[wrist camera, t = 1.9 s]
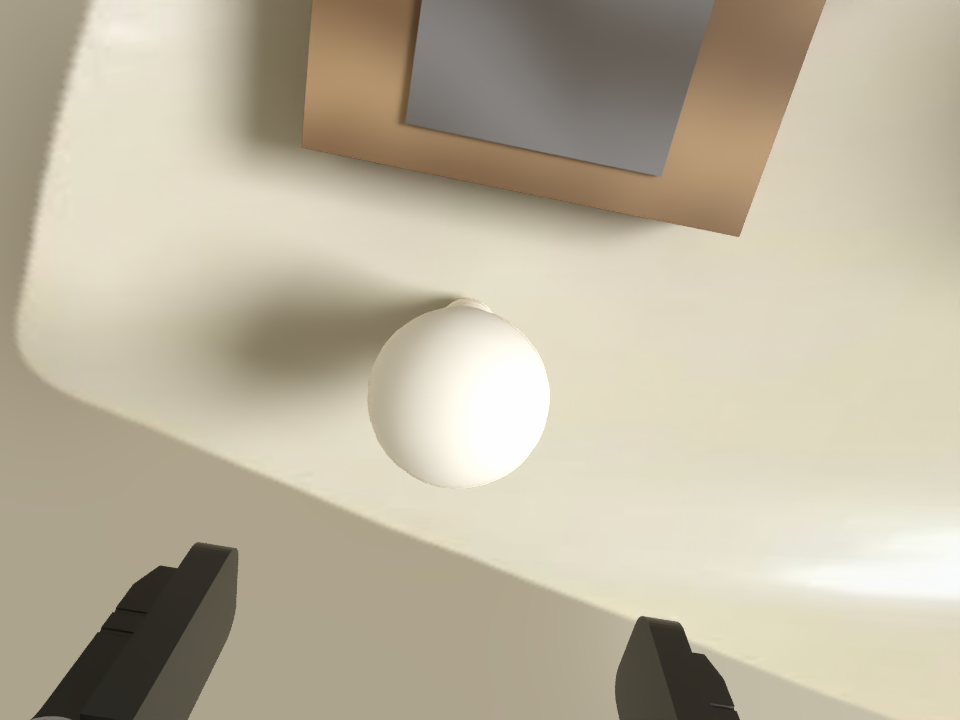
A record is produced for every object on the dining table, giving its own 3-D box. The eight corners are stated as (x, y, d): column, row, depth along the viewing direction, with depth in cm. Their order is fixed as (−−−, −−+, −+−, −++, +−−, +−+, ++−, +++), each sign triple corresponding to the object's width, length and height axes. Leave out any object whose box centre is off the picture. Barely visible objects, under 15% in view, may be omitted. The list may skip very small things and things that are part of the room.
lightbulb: (416, 386, 29) (375, 538, 19) (388, 264, 27) (325, 364, 17) (542, 369, 29) (568, 515, 19) (525, 243, 26) (544, 332, 16)
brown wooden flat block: (363, -236, 20) (332, -316, 16) (820, -126, 21) (895, -177, 17) (329, 140, 25) (298, 148, 21) (704, 216, 26) (741, 239, 22)
